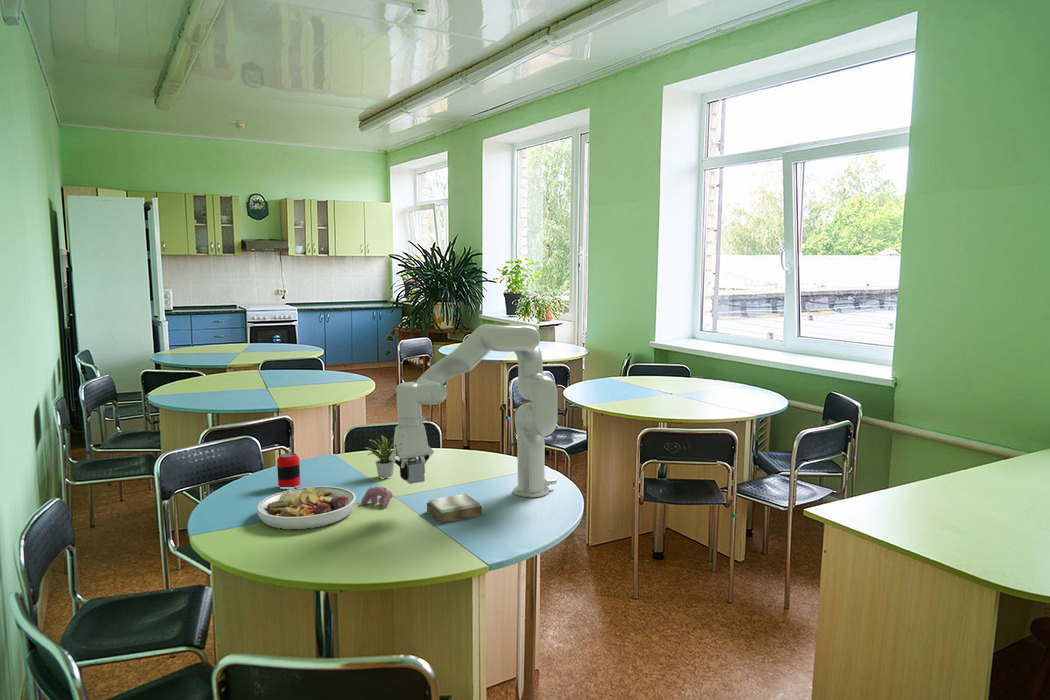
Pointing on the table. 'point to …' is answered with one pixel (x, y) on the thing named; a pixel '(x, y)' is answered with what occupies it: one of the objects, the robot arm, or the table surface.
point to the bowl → (306, 507)
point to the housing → (414, 470)
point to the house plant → (383, 458)
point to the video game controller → (375, 492)
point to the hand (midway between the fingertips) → (412, 476)
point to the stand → (454, 508)
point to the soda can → (288, 470)
